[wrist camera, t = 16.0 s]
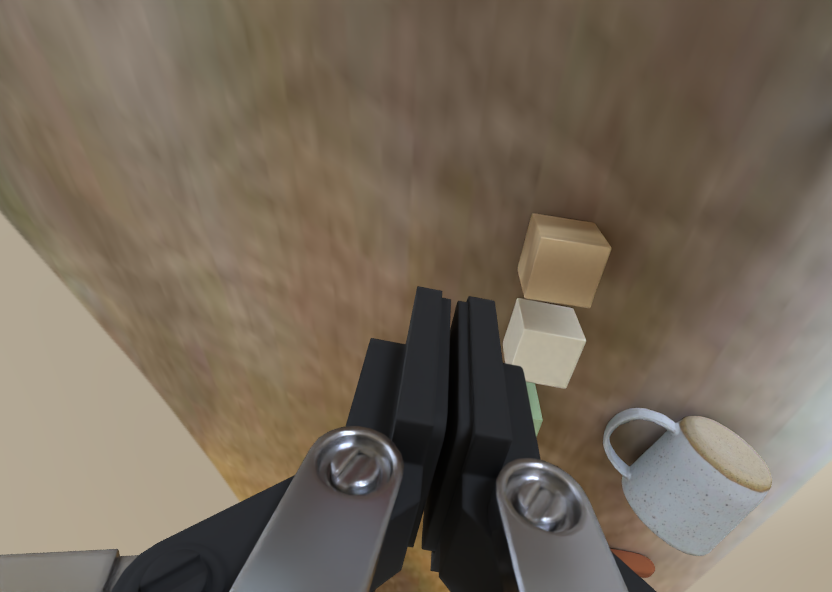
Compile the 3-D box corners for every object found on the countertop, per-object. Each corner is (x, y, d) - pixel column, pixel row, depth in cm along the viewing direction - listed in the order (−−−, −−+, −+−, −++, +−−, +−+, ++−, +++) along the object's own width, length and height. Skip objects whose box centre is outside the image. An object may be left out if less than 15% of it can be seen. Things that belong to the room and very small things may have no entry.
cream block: (517, 297, 35) (524, 328, 31) (573, 307, 35) (587, 340, 31) (502, 343, 37) (506, 378, 33) (555, 353, 37) (566, 389, 33)
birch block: (531, 212, 32) (541, 237, 28) (594, 222, 32) (612, 247, 28) (516, 269, 34) (523, 298, 30) (576, 278, 34) (590, 308, 30)
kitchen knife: (652, 554, 48) (659, 574, 46) (645, 562, 49) (652, 582, 47) (501, 519, 47) (502, 538, 45) (496, 527, 48) (498, 546, 46)
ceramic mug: (748, 426, 39) (807, 509, 32) (684, 487, 43) (724, 572, 36) (634, 381, 38) (670, 456, 31) (578, 447, 42) (600, 527, 35)
